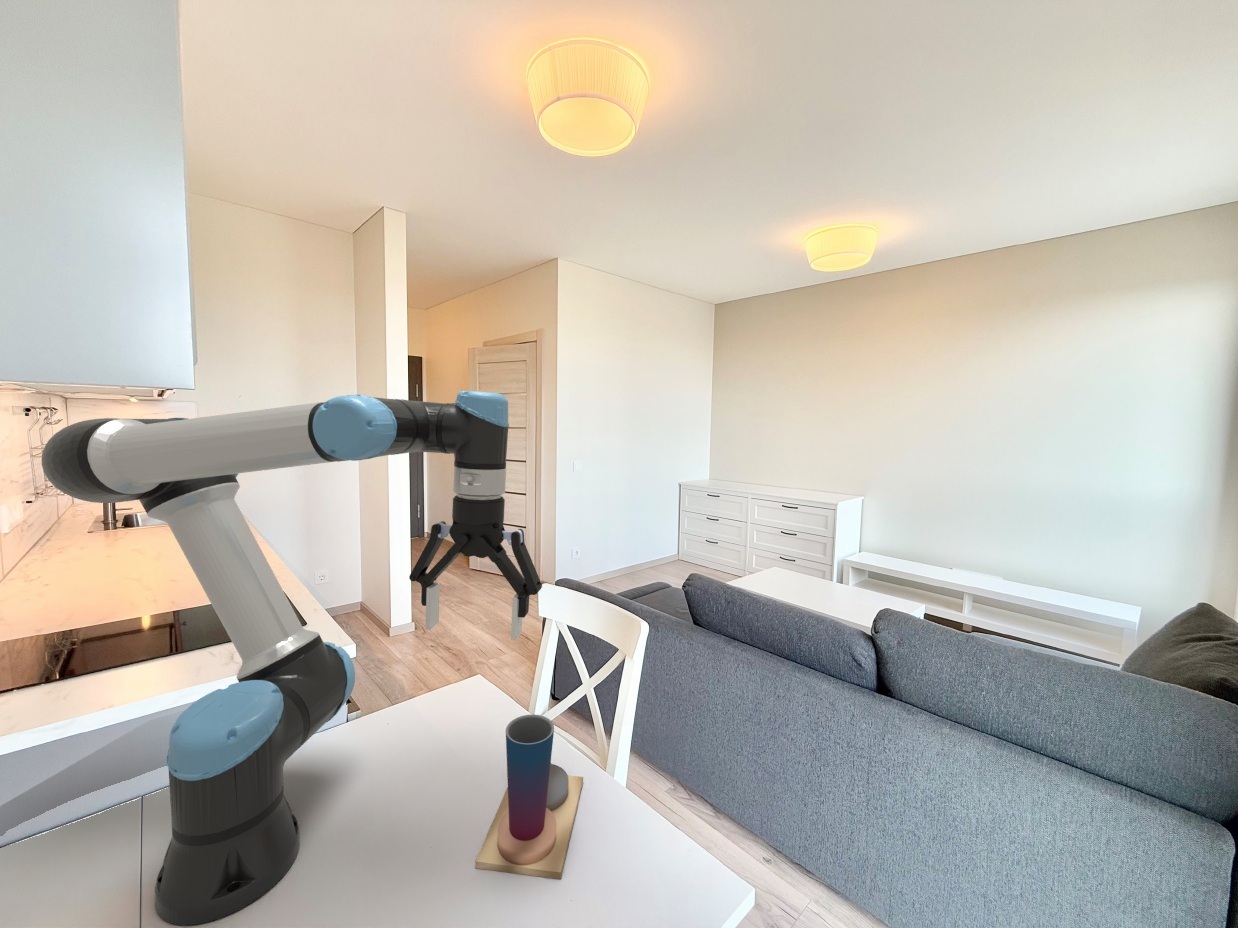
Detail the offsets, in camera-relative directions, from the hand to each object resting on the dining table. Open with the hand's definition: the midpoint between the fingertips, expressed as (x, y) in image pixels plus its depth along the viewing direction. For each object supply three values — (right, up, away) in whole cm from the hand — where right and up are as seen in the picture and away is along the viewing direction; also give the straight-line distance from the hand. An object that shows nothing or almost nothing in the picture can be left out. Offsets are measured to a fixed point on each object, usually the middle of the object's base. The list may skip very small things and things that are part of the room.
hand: (473, 631), depth 75 cm
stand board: (+9, -30, 0) cm, 31 cm away
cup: (+9, -27, -4) cm, 29 cm away
